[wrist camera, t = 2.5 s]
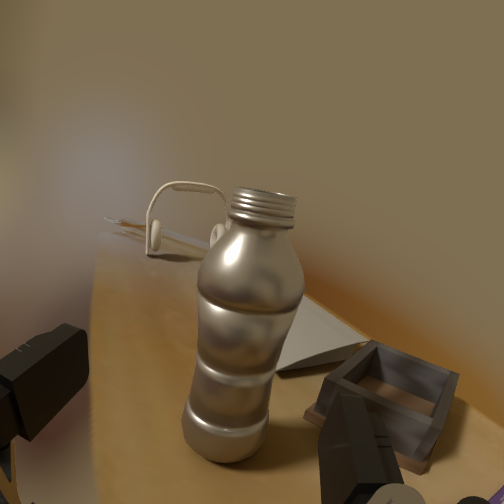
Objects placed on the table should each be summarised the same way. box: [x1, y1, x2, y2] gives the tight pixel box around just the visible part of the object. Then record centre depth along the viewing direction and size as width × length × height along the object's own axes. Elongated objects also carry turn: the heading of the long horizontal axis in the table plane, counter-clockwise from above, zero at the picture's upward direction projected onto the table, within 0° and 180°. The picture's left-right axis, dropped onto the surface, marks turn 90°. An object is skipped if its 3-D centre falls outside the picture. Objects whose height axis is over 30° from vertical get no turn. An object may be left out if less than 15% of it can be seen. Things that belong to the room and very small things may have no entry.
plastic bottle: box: [181, 187, 305, 463], centre depth 21 cm, size 6×7×20 cm
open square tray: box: [303, 339, 459, 475], centre depth 28 cm, size 13×13×5 cm
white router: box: [275, 295, 368, 372], centre depth 46 cm, size 15×23×4 cm, turn 25°
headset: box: [146, 181, 231, 255], centre depth 74 cm, size 20×7×18 cm, turn 112°
